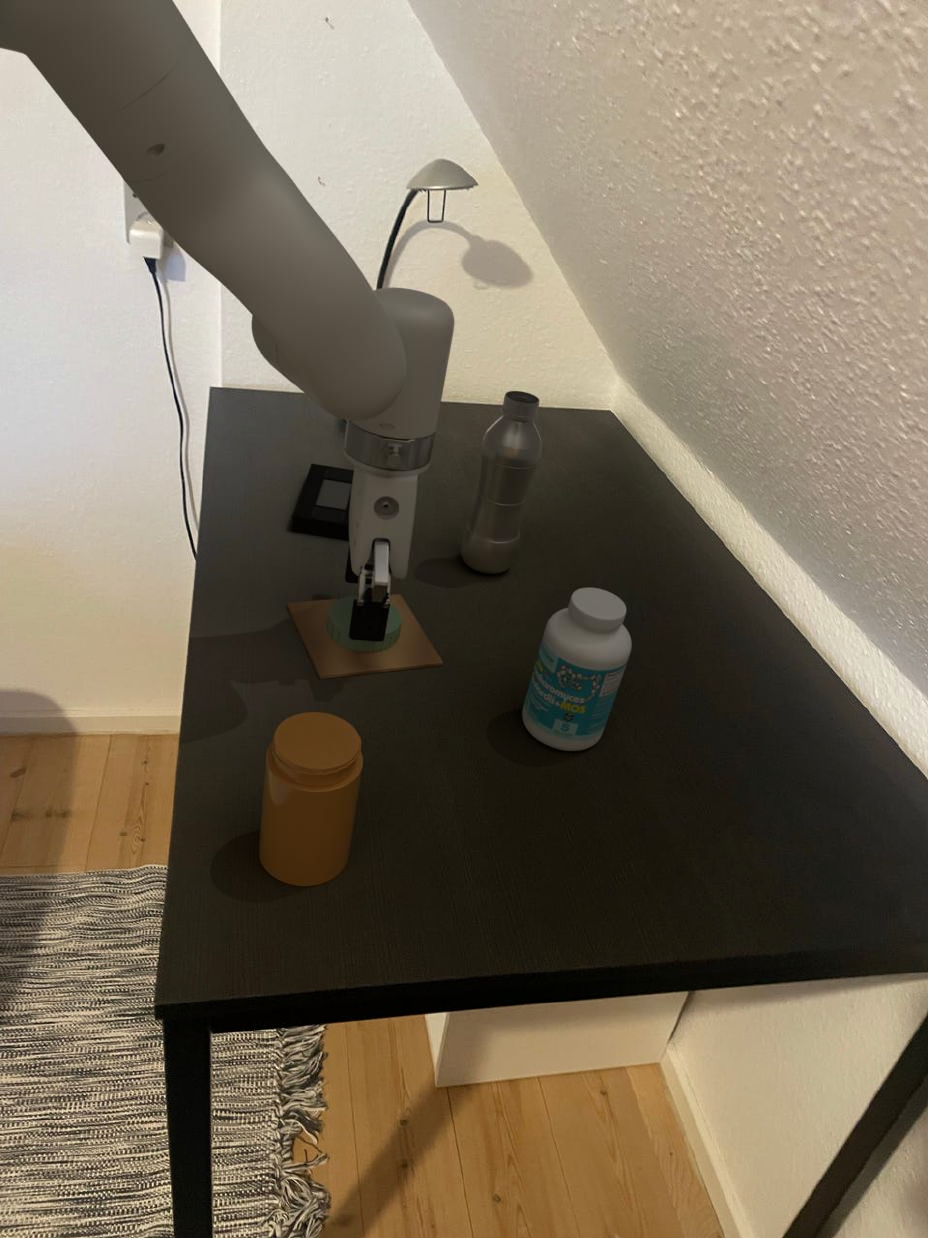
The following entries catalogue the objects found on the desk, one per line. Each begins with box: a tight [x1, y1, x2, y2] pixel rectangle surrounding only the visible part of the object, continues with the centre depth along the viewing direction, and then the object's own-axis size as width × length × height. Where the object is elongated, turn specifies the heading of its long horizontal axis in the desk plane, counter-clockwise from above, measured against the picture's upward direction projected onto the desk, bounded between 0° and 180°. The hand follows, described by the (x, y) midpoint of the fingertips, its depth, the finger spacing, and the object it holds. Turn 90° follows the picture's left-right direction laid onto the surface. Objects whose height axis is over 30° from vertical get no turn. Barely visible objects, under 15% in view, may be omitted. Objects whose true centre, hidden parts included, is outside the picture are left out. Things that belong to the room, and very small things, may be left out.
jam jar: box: [258, 711, 364, 887], centre depth 65 cm, size 6×6×11 cm
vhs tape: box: [290, 463, 354, 541], centre depth 111 cm, size 8×14×2 cm, turn 178°
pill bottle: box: [521, 587, 633, 752], centre depth 81 cm, size 8×7×14 cm
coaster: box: [286, 593, 444, 680], centre depth 91 cm, size 12×12×1 cm
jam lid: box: [327, 595, 402, 652], centre depth 91 cm, size 7×7×2 cm
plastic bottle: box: [460, 390, 543, 574], centre depth 102 cm, size 6×7×20 cm
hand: (363, 609), depth 89 cm, fingers open, 9 cm apart
